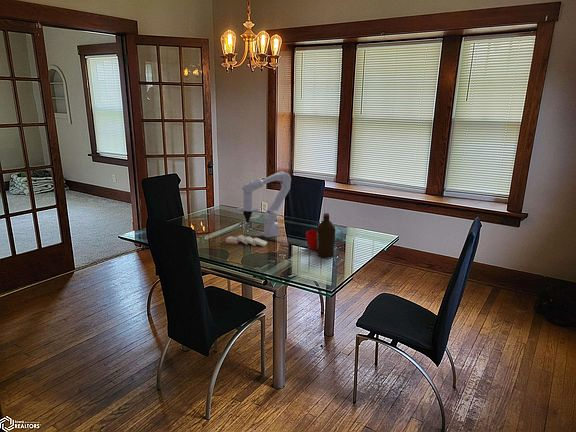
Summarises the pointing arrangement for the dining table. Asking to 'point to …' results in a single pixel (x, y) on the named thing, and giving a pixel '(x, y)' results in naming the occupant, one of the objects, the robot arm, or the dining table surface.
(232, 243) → the terracotta domino
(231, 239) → the ivory domino
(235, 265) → the dining table surface
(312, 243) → the ceramic cup
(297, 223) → the dining table surface
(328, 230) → the olive oil
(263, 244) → the ivory domino
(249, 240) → the ivory domino
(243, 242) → the ivory domino
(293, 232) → the dining table surface
